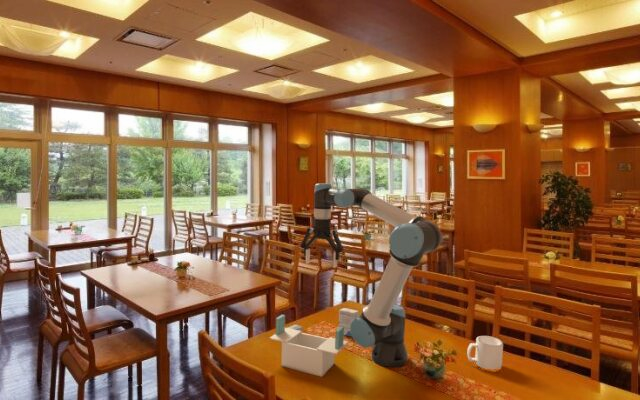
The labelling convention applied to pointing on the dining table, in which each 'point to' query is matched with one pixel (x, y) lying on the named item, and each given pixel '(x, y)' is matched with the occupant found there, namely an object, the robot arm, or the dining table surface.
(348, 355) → the dining table surface
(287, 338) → the flap far
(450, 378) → the dining table surface
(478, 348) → the mug
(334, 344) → the flap near
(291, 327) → the medicine box
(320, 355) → the carton
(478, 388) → the dining table surface
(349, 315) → the ink box
